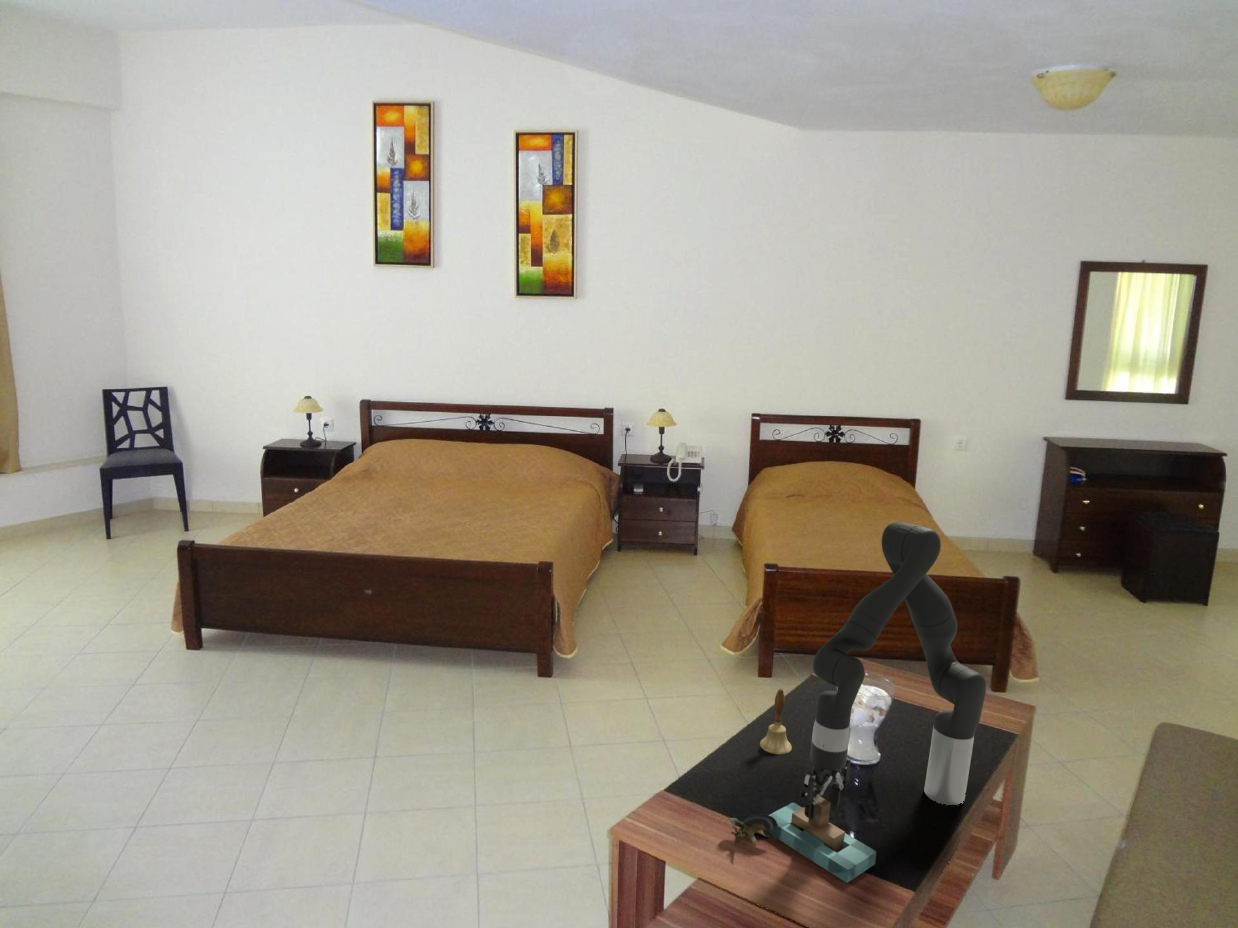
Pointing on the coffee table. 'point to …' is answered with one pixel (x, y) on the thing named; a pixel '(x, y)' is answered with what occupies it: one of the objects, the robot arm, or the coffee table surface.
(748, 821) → the brown animal figure
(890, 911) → the coffee table surface
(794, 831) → the teal block with holes
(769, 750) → the hand bell
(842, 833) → the wooden forked block
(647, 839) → the coffee table surface
